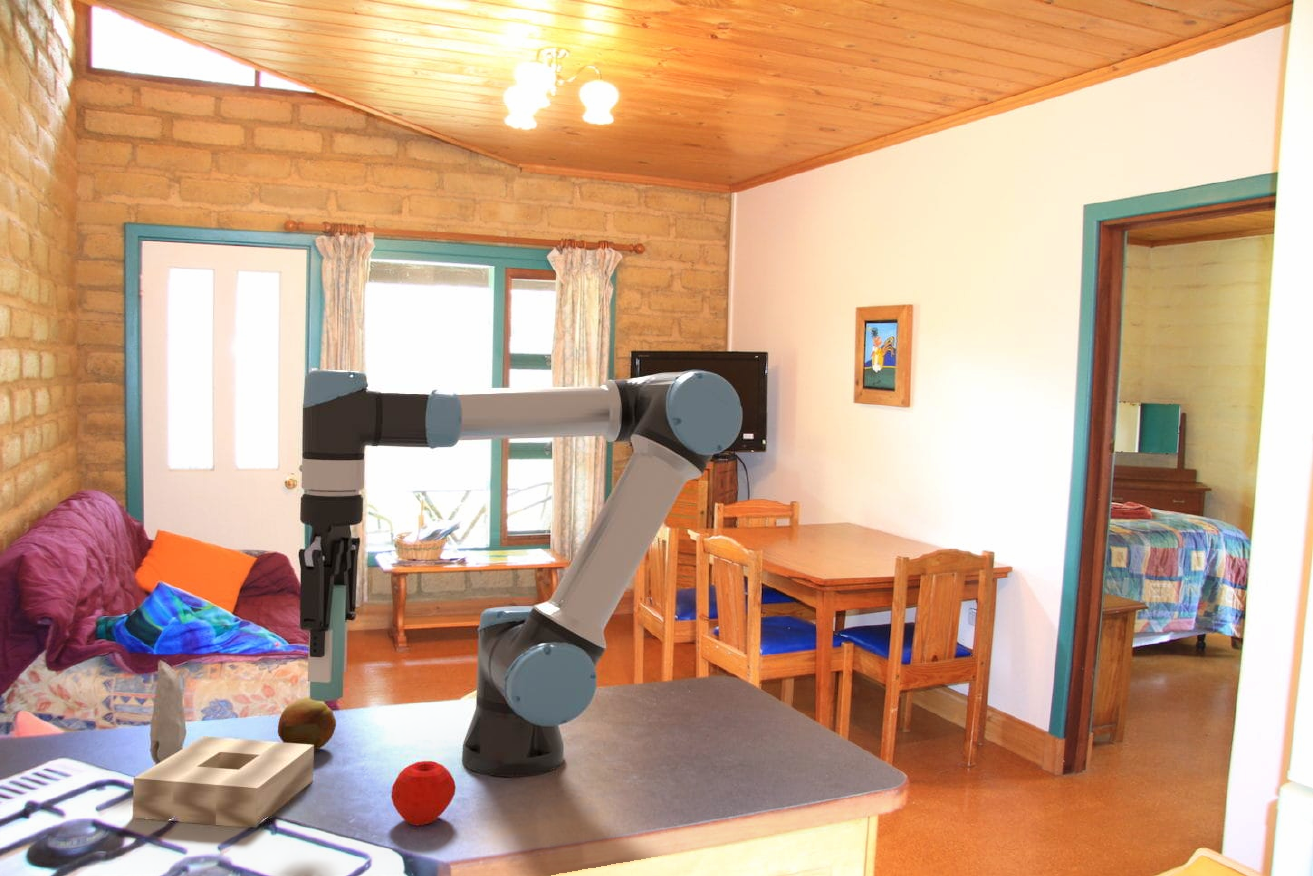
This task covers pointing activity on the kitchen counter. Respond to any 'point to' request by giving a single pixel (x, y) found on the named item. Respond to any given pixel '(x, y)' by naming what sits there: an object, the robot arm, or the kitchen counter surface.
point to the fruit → (307, 723)
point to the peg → (334, 650)
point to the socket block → (223, 782)
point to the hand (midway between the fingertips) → (327, 675)
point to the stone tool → (167, 716)
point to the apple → (422, 792)
